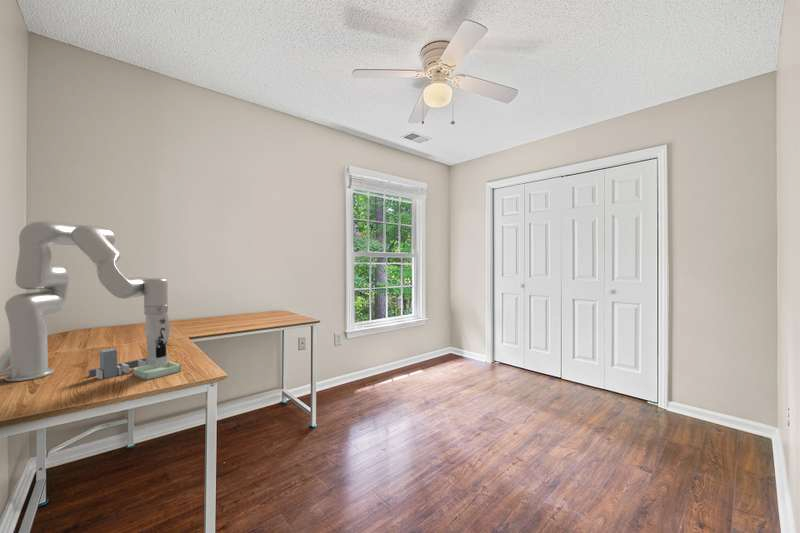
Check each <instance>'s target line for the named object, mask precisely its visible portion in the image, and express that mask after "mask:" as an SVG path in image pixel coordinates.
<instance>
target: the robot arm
mask: <svg viewBox="0 0 800 533" xmlns="http://www.w3.org/2000/svg"><path fill="white" fill-rule="evenodd" d="M115 241H116V236H115V234H114V233H113V231H111V230H110V229H108V228H107V227H103V226H96V225H95V226H94V225H82V224H75V223H74V224H73V223H66V222H57V221H46V220H45V221H44V220H43V221H42V220H41V221H33V222H31V223H28V224H27V225H25V226H24V227H23V228H22V229H21V231H20V232H19V236H18V244H19V245H18V247H19V249H18V250H19V253H18V257H17V265H16V269H15V270H16V271H15V278H14V279H15V284H16V286H17V287H18V288H21V289H23V290H39V291H31V292H24V293H18V294H15V295H12V296H11V297H9V299H7V300H6V302H5V305H4V311H5V314H6V317H7V320H8V321H7V322H8V325H9V326H8V327H9V339H10V340H9V343H10V348H9V349H10V350H9V351H10V365H8V367H6V368H4V370H3V369H1V370H0V377H4V381H6V382H21V381H30V380H34V379H39V378H43V377H47V376H49V375H51V374H53V373H54V368H53V367H49V358H48V357H49V356H48V354H49V353H48V350H49V349H48V347H49V346H48V329H47V328H48V327H47V323H46V322H45V320H44V319H43V318H42V316H43V317H44V316H49V315H55V314H57V313H58V312H61V311H63V309H64V307H65V305H66V303H67V302H66V301H67V297H68V290H69V284H70V283H69V282H70V275H69V273H68V270H67V269H66V268H65V267H63V265H61V264H55V263H52V258H53V256H52V255H53V253H52V251H51V249H50V246H49V245H59V246H60V245H62V246H77V247H78V248H79V249H80V250H81V251H82V252H83V253H84V254H85V256H87V257H88V259H89V260H91V262H92V263H93V264H94V265H95V266H96V275H97V278H98V280H99V282H100V283H101V285H102V286H103V287H104V288H105V289H106V290H107V291H108V292H109V293H110V294H111V295H113V297H115V298H118V299H123V300H124V299H133V298H139V297H143V309H144V310H143V314H144V316H145V323H144V325H145V328H144V330H145V332H144V333H145V337H146V336H149V337H152V338H154V340H156V343H157V347H156V358H160V357H164V356H166V348H167V343H168V340H169V338H170V337H171V334H170V332H171V331H170V330H171V329H170V320H169V302H168V301H169V300H168V298H169V292H168V288H169V287H168V285H169V284H168V279H166V278H164V277H151V278H148V277H139V276H137V277H125V275H123V274H122V272H120V270H119V269H118V268H117V266H116V263H117V262H118V261H119V260H120V259H121V257H122V255H121V252H120V251H119V250H118V249H116V247H115V246H114V244H115ZM160 337H162V338H161V339H159V338H160ZM159 341H161V342H160V343H159Z"/></svg>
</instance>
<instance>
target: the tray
mask: <svg viewBox="0 0 800 533" xmlns="http://www.w3.org/2000/svg"><path fill="white" fill-rule="evenodd" d="M179 372H182V366H181V364H178V363H176V362H173V361H169V360H168V365H165V366H162V367H158V368H155V367H151V366H149V365H146V366H141V367H138V366H136V367H132V375H133V376H135V377H137V378H139V379H142V380H144V381H149V380H154V379H157V378H160V377H164V376H168V375H172V374H176V373H179Z"/></svg>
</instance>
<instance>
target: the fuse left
mask: <svg viewBox="0 0 800 533" xmlns="http://www.w3.org/2000/svg"><path fill="white" fill-rule="evenodd" d="M117 364H118V349H116V348H113V347H112V348H111V347H110V348H107V349H100V350H99V368H100V370H102V371H103V379H105V380H106V379H109V378H113V377H117V376H118V375H117Z"/></svg>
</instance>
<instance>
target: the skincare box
mask: <svg viewBox="0 0 800 533" xmlns="http://www.w3.org/2000/svg"><path fill="white" fill-rule="evenodd" d="M145 338H146V348H147V349H146V350H147V358H148V361H149V366H151V367H155V368H158V367H162V366H165V365H168V361H169V360H168V359H169V358H168V350H167V347H166V356H164V357H160V358H156V347H157V343H156V340H154V338H152V337H149V336H146V335H145ZM161 338H162V337H160V338H159V339H161ZM160 342H161V341H159V343H160Z"/></svg>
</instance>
